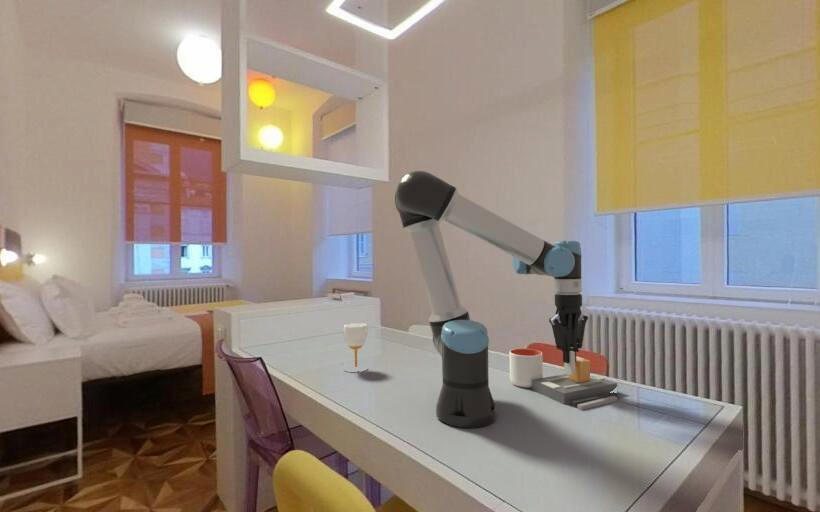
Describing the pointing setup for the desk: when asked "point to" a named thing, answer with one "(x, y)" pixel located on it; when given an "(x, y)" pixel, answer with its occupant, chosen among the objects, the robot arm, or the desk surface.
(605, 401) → the cord grey
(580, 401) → the black bar
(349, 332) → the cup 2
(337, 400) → the desk surface
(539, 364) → the cup
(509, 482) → the desk surface
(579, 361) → the breaker toggle
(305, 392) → the desk surface
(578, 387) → the box
